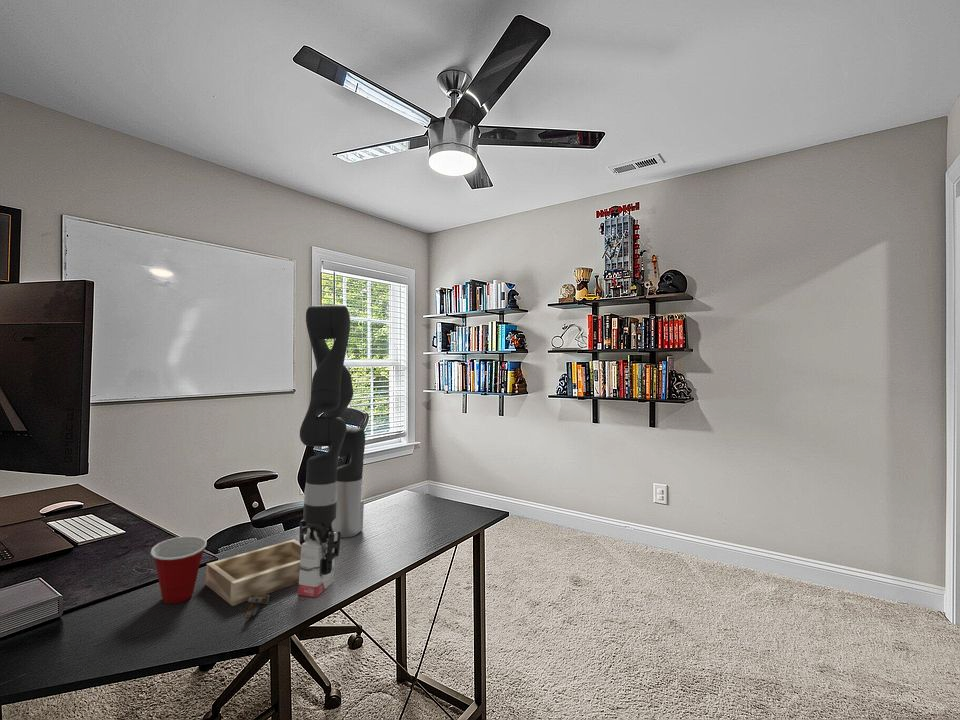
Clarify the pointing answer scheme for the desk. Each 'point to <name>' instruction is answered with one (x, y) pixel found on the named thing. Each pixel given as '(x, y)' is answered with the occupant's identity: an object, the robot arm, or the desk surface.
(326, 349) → the robot arm
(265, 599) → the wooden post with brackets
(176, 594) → the plastic cup
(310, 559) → the ink box
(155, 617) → the desk surface
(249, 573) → the trough
